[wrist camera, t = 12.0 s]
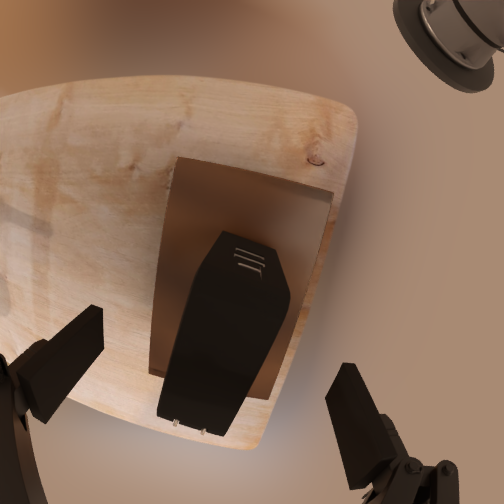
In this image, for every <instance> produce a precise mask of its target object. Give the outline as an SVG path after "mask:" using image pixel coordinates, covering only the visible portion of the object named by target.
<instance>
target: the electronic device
mask: <svg viewBox="0 0 504 504" xmlns="http://www.w3.org/2000/svg"><path fill="white" fill-rule="evenodd" d="M290 300H291V295H290V290H289V287H288V284H287V281H286V278H285V275H284V272H283V269H282V266H281V263H280V260H279V257H278V254H277V251H276V249H273V248H270V247H267V246H265V245H262V244H259V243H256V242H254V241H251V240H248V239H245V238H243V237H240V236H237V235H234V234H232V233H229V232H226V231H222V233H221V234H220V235H219V237H218V238H217V240H216V241H215V243H214V245H213V246H212V248H211V249H210V251H209V252H208V254H207V255H206V257H205V258H204V260H203V261H202V263H201V264H200V266H199V267H198V269H197V271H196V273H195V276H194V279H193V281H192V284H191V287H190V291H189V294H188V297H187V301H186V304H185V307H184V311H183V314H182V317H181V321H180V324H179V328H178V331H177V335H176V338H175V342H174V345H173V349H172V353H171V356H170V360H169V364H168V367H167V371H166V375H165V379H164V383H163V387H162V391H161V395H160V399H159V403H158V407H157V416H158V417H161V418H164V419H166V420H169V421H172V422H173V420H174V419H175V421H174V424H173V426H175V427H176V426H177V423H178V420H179V424H181V425H184V426H187V427H190V428H194V429H197V430H200V431H201V435H204V433H205V431H206V432H207V433H211V434H215V435H219V436H224V435H225V434H226V432H227V431H228V429H229V427H230V425H231V423H232V422H233V420H234V418H235V416H236V414H237V413H238V411H239V409H240V407H241V405H242V403H243V402H244V400H245V398H246V396H247V394H248V392H249V390H250V388H251V386H252V385H253V383H254V381H255V379H256V377H257V375H258V373H259V371H260V369H261V367H262V365H263V363H264V361H265V359H266V357H267V355H268V353H269V351H270V349H271V347H272V345H273V343H274V341H275V339H276V337H277V335H278V333H279V330H280V328H281V326H282V324H283V322H284V320H285V317H286V314H287V312H288V309H289V304H290Z"/></svg>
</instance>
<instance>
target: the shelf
mask: <svg viewBox="0 0 504 504" xmlns="http://www.w3.org/2000/svg"><path fill="white" fill-rule="evenodd" d="M333 196H334V193H333V192H330V191H327V190H323V189H320V188H316V187H312V186H309V185H305V184H302V183H298V182H294V181H290V180H286V179H282V178H278V177H274V176H270V175H266V174H262V173H258V172H253V171H249V170H244V169H240V168H235V167H231V166H226V165H221V164H216V163H211V162H206V161H200V160H195V159H189V158H184V157H177V160H176V164H175V169H174V173H173V178H172V183H171V188H170V193H169V198H168V203H167V208H166V214H165V220H164V225H163V231H162V238H161V244H160V251H159V258H158V266H157V273H156V282H155V291H154V300H153V310H152V322H151V336H150V352H149V374H152V375H155V376H158V377H162V378H165V375H166V371H167V367H168V364H169V360H170V356H171V353H172V349H173V345H174V342H175V338H176V335H177V331H178V328H179V324H180V321H181V317H182V314H183V311H184V307H185V304H186V301H187V297H188V294H189V291H190V287H191V284H192V281H193V279H194V276H195V273H196V271H197V269H198V267H199V266H200V264H201V263H202V261H203V260H204V258H205V257H206V255H207V254H208V252H209V251H210V249H211V248H212V246H213V245H214V243H215V241H216V240H217V238H218V237H219V235H220V234H221V233H222V231H226V232H229V233H232V234H234V235H237V236H240V237H243V238H245V239H248V240H251V241H254V242H256V243H259V244H262V245H265V246H267V247H270V248H273V249H276V251H277V254H278V257H279V260H280V263H281V266H282V269H283V272H284V275H285V278H286V281H287V284H288V287H289V290H290V295H291V300H290V304H289V309H288V312H287V314H286V317H285V320H284V322H283V324H282V326H281V328H280V330H279V333H278V335H277V337H276V339H275V341H274V343H273V345H272V347H271V349H270V351H269V353H268V355H267V357H266V359H265V361H264V363H263V365H262V367H261V369H260V371H259V373H258V375H257V377H256V379H255V381H254V383H253V385H252V386H251V388H250V390H249V392H248V394H247V396H246V397H251V398H258V399H265V400H268V399H269V397H270V394H271V391H272V389H273V386H274V384H275V381H276V378H277V376H278V373H279V370H280V368H281V365H282V362H283V360H284V357H285V354H286V351H287V348H288V346H289V343H290V340H291V337H292V334H293V331H294V328H295V325H296V322H297V320H298V317H299V313H300V310H301V307H302V304H303V301H304V298H305V295H306V292H307V289H308V285H309V282H310V279H311V276H312V272H313V269H314V266H315V262H316V259H317V255H318V252H319V248H320V245H321V241H322V238H323V234H324V230H325V227H326V223H327V219H328V216H329V212H330V208H331V204H332V200H333Z"/></svg>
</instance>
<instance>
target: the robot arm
mask: <svg viewBox="0 0 504 504" xmlns="http://www.w3.org/2000/svg"><path fill="white" fill-rule="evenodd" d="M418 17H419V20H420V23H421V25H422V27H423V29H424V31H425V32H426V34H427V36H428V37H429V38H430V40H431V41H432V42H433V44H434V45H435V46H436V47H437V48H438V50H439V51H440V52H441V53H442V54H443V55H444V56H445V57H447V58H448V59H449V60H450V61H451V62H453V63H454V64H456V65H457V66H459V67H461V68H463V69H465V70H469V71H474V70H477V69H479V68H482V67H483V66H484V65H485V64H486V63H487V62H488V60H489V59H490V58H491V57H492V55H493V54H494V53H495V52H496V50H499V51H501V52H503V53H504V50H503V49H501V48H502V47H504V0H423V1H422V2H421V3H420V4H419V6H418ZM103 350H104V335H103V308H100V307H98V306H95V305H92V304H91V305H90V306H89V307H88V308H86V309H85V310H84V311H83V312H82V313H80V314H79V315H78V316H77V317H76V318H75V319H73V320H72V321H71V322H70V323H69V324H68V325H66V326H65V327H64V328H63V329H62V330H61V331H60V332H58V333H57V334H56V335H55V336H54V337H53V338H52V339H50V340H49V341H47V340H45V339H42V340H39V341H37V342H35V343H33V344H32V345H31V346H30V347H29V349H27V350H25V351H24V353H22V354H21V355H20V356H19V357H18V358H16V359H15V360H14V361H13V362H12V363H11V364H10V365H9V366H7V362H6V359H5V357H4V356H3V355H2V354H0V504H48V502H47V500H46V496H45V493H44V490H43V487H42V484H41V480H40V477H39V473H38V469H37V465H36V461H35V457H34V452H33V448H32V443H31V437H30V432H29V425H28V419H27V415H26V412H27V411H28V409H29V408H30V411H31V413H32V415H33V417H35V418H36V419H38V420H40V421H41V422H43V423H44V424H46V423H47V422H48V421H49V419H50V418H51V417H52V415H53V414H54V412H55V411H56V410H57V408H58V407H59V406H60V404H61V403H62V401H63V400H64V399H65V398H66V396H67V395H68V394H69V393H70V391H71V390H72V389H73V387H74V386H75V385H76V383H77V382H78V381H79V380H80V378H81V377H82V376H83V375H84V373H85V372H86V371H87V370H88V368H89V367H90V366H91V365H92V363H93V362H94V361H95V360H96V358H97V357H98V356H99V355H100V353H101V352H102V351H103ZM325 400H326V403H327V407H328V411H329V414H330V417H331V421H332V425H333V428H334V432H335V435H336V439H337V443H338V447H339V450H340V454H341V458H342V462H343V465H344V469H345V473H346V477H347V481H348V484H349V489H350V490H355V489H363V488H366V486H368V485H369V484H370V483H371V482H372V485H373V488H372V489H371V490H370V491H369V492H367V494H365V495H364V496H363V497H362V499H364V498H365V497H366V496H367V497H366V498H365V500H364V502H363V503H362V504H459V480H458V469H457V467H456V465H455V464H454V463H453V462H451V461H448V460H443V461H441V462H439V463H438V464H437V465H436V466H435V467H434V466H423V464H422V463H421V462H420V461H419V460H418V459H416V458H413V457H409V455H408V453H407V451H406V449H405V447H404V444H403V443H402V440H401V438H400V436H398V432H397V430H395V426H394V424H393V422H392V420H391V419H390V418H389V417H388V416H387V415H386V414H379V412H378V410H377V408H376V406H375V404H374V401H373V399H372V397H371V395H370V393H369V391H368V389H367V387H366V385H365V383H364V381H363V379H362V377H361V375H360V373H359V371H358V369H357V367H356V365H355V364H354V363H342V365H341V367H340V370H339V372H338V374H337V376H336V378H335V380H334V382H333V384H332V385H331V387H330V389H329V391H328V393H327V395H326V397H325Z"/></svg>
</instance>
